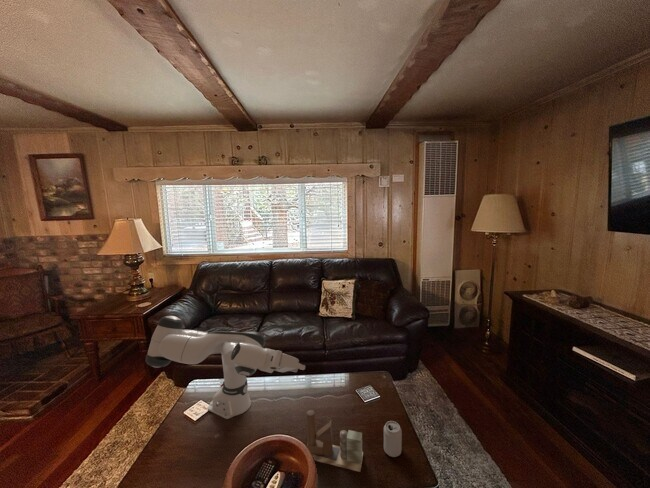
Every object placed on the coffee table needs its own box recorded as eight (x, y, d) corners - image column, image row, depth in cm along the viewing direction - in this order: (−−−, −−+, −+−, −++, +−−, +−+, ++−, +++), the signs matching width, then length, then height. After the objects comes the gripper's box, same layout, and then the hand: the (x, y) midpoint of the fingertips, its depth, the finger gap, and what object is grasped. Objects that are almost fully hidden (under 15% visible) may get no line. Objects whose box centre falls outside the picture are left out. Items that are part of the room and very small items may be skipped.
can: (381, 443, 119) (381, 419, 118) (397, 442, 120) (398, 418, 118) (386, 459, 112) (386, 434, 110) (404, 457, 113) (404, 432, 111)
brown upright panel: (331, 456, 112) (330, 418, 110) (306, 453, 114) (305, 415, 112) (332, 449, 116) (331, 411, 113) (308, 445, 118) (307, 409, 115)
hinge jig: (304, 457, 114) (303, 432, 112) (310, 441, 121) (309, 417, 120) (360, 472, 107) (360, 445, 105) (363, 454, 115) (363, 429, 113)
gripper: (262, 371, 119) (291, 378, 123) (275, 366, 103) (307, 375, 107) (267, 356, 123) (294, 364, 127) (279, 349, 107) (310, 358, 111)
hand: (300, 369), depth 117 cm, fingers open, 8 cm apart
